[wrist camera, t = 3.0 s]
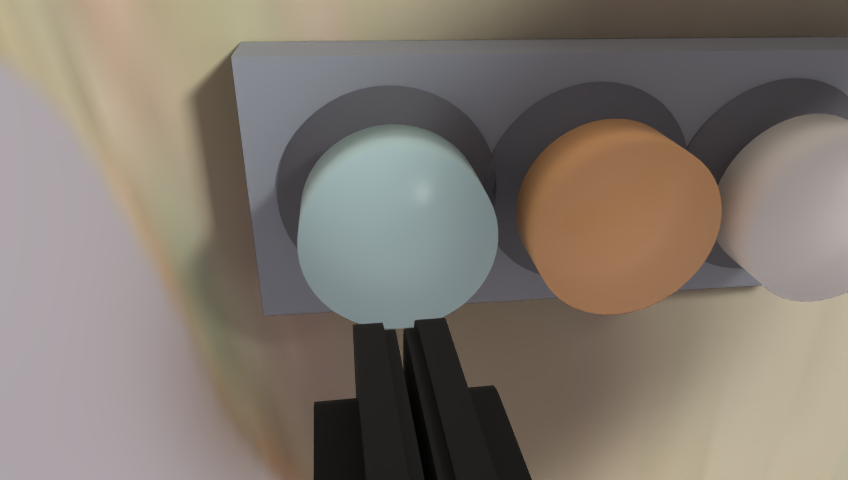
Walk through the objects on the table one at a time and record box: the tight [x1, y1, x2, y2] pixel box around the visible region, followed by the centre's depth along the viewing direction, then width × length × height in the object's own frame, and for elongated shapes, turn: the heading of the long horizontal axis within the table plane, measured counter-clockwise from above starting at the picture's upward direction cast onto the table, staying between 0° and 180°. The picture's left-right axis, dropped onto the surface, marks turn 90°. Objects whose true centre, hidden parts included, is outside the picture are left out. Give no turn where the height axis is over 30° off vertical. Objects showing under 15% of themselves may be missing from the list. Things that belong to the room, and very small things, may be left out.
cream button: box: [716, 113, 848, 302], centre depth 18 cm, size 5×5×2 cm
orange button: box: [516, 119, 722, 315], centre depth 17 cm, size 5×5×2 cm
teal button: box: [297, 124, 498, 329], centre depth 16 cm, size 5×5×2 cm
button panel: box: [231, 37, 848, 316], centre depth 20 cm, size 20×8×2 cm, turn 89°
